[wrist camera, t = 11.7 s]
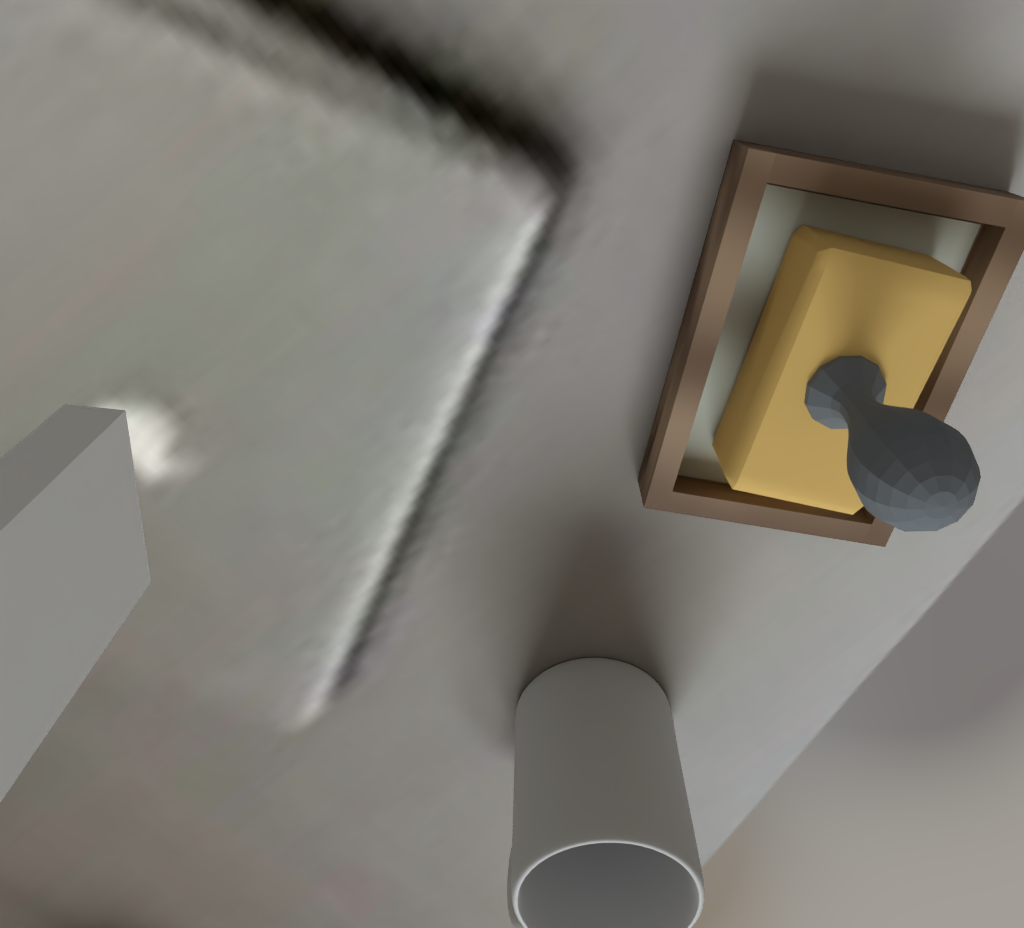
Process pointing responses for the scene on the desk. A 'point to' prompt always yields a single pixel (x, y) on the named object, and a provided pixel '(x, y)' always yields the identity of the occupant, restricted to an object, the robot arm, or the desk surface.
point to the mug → (600, 804)
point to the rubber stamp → (850, 386)
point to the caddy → (747, 285)
